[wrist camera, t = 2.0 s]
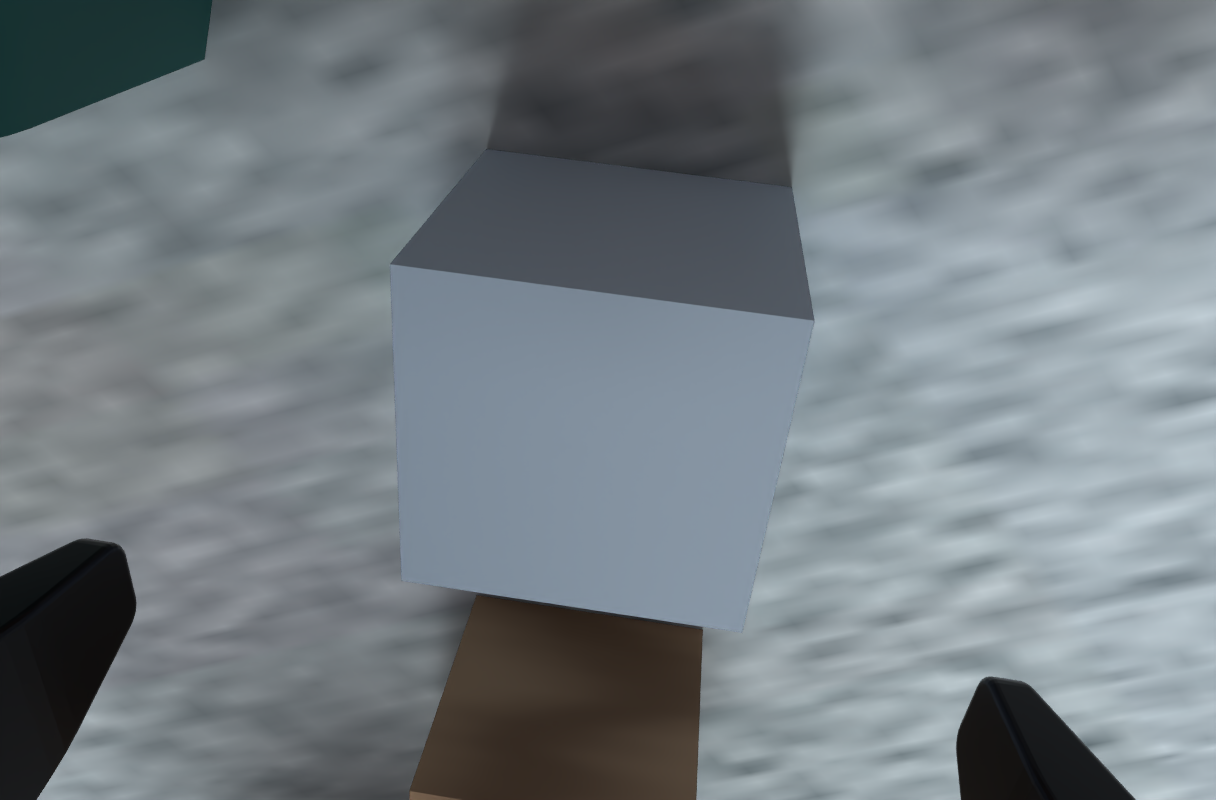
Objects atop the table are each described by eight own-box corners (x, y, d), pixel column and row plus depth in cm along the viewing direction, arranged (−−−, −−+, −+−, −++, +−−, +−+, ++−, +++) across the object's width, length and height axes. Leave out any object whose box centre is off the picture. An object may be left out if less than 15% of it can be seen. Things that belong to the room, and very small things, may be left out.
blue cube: (791, 186, 15) (815, 320, 11) (740, 441, 17) (741, 633, 13) (487, 147, 15) (390, 264, 11) (481, 404, 18) (401, 581, 13)
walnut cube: (703, 627, 20) (694, 837, 16) (673, 773, 23) (659, 987, 18) (477, 592, 20) (409, 790, 16) (473, 741, 23) (414, 945, 19)
